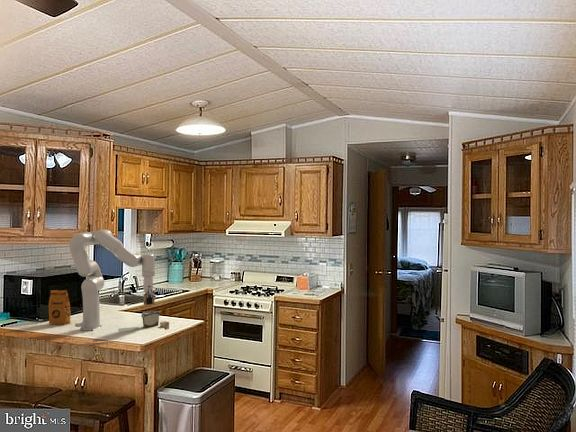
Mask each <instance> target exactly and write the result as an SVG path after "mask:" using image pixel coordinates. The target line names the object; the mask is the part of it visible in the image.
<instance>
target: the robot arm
mask: <svg viewBox="0 0 576 432" xmlns="http://www.w3.org/2000/svg"><path fill="white" fill-rule="evenodd" d="M113 235H114V234H113V233H112V231H111V230H109V229H99V230H95V231H88V232H87V231H86V232H77V233H76V234H74V236H72V237H71V239H70V241H69V244H68V248H69V252H70V254H71V255H70V256H71V257H72V260H73V262H74V266H75V268H76V271H77V273H78V275H79V276H81V277H86V278H85V279H84V280H83V282H82V283H81V287H80V288H81V295H82V322H80V323H79V322H78V323H74V326H75V327H77V328H80V329H79V330H80V331H82V332H92V331H94V329H100V328H102V327H103V325H102V324H101V323H100V315H101V314H100V313H101V311H100V310H101V309H100V308H101V307H100V306H101V305H100V294H99V291H101V290H103V288H104V286H105V279H104V277H103V274H102V271H101V268H100V266H99V264H98V263H97V262H96V261H95V260H94V259H92V260H91V259H90V258H89V255H88V253H87V251H86V249H85V248H84V247H86V246H94V245H100V246H102V247H103V248H105V249H106V250H108V251H109V252H111V253H112V254H113V255H114V256H115V257H116V258H117V259H118V260H119V261H120V262H122V263H123V264H124V265H126V266H128V267H131V268H135V267H138V266H141V277H143V293H144V294H147V304H152V293H154V292H153V291H154V279H153V278H154V277H155V272H156V270H155V255H154V254H153V253H143V254H142V253H132V252H130V251H129V250H127V249H126V248H125V247H124V245H123V242H122V241H121V240H119V239H118V238H117V237H115V236H113ZM152 305H153V304H152Z"/></svg>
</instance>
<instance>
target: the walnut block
mask: <svg viewBox="0 0 576 432" xmlns="http://www.w3.org/2000/svg"><path fill="white" fill-rule="evenodd" d="M142 296H143V297H142V298H143V305H144V306H151V305H155V304H156V303H155V302H156V301H155V299H156V297H155V293H154V292H152V304H147V294H146V293H143V295H142Z"/></svg>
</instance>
